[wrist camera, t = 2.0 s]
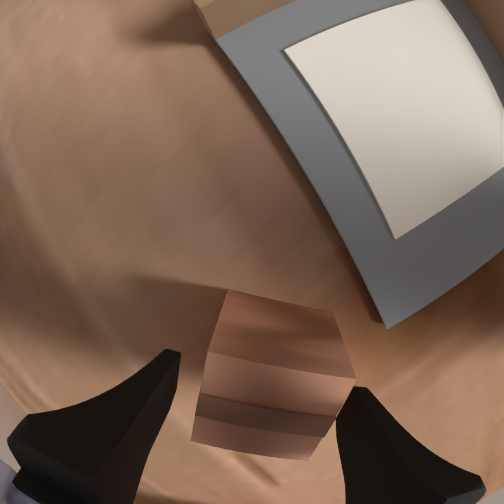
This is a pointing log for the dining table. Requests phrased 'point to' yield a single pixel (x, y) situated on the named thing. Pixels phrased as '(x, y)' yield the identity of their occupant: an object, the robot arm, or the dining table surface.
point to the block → (271, 378)
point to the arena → (386, 127)
